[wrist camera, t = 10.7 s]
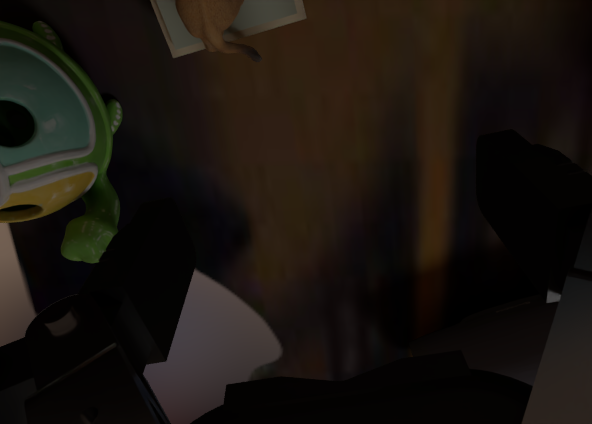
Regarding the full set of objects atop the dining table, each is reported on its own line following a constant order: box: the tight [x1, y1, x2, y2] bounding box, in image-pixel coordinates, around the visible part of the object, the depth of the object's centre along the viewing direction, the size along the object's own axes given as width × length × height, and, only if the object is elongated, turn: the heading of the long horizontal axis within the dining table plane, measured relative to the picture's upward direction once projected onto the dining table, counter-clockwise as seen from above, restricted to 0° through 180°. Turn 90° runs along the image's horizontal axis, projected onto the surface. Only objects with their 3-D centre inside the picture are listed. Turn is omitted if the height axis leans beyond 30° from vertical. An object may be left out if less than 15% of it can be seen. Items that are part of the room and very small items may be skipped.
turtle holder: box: [0, 21, 122, 263], centre depth 30 cm, size 12×18×12 cm
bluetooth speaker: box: [409, 294, 559, 386], centre depth 44 cm, size 23×9×10 cm, turn 112°
